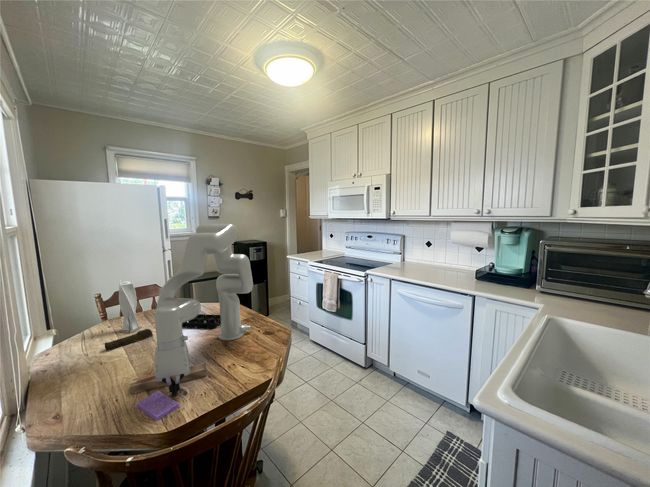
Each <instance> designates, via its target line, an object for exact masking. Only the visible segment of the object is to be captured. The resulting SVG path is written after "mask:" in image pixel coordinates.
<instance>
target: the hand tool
mask: <svg viewBox="0 0 650 487" xmlns="http://www.w3.org/2000/svg"><path fill="white" fill-rule="evenodd" d="M152 336H154V334H153V331H152V329H149V328H145V329H140V330H139V331H136V333H134V334H131V335H128V336H125V337H122V338H117V339H114V340H111V341H109V342H104V349H105V351H106V352H109V351H110V350H111V351H112V350H113V349H115V348H119V347H122V346H125V345H128V344H131V343H133V342H137V341H140V342H141V341H143V340H146V339H149V338H150V337H151V338H152Z"/></svg>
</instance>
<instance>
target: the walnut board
mask: <svg viewBox="0 0 650 487" xmlns="http://www.w3.org/2000/svg"><path fill="white" fill-rule="evenodd" d="M189 367H190V369H191V373H190V374H188V375H186V376H184V377H183V378H182V379H181V380H180V381H179V383H182V382H185V381H191V380H195V379H198V378H203V377H206V376H207V363H206V362H204V363H200V364H195V365H191V366H189ZM147 376H148V375H146V376H141V377H137V378H133V379H132V381H135V380H137V379H140V378H143V377H147ZM172 379H173V380H174V381H175V379H176V376H172ZM166 386H168V385H167V384H166V383H165V382H163V381H158V382H156V381H155V378H151V379H148V380H145V381H142V382H139V383H135V384H132V382H131V384H130V386H129V392H130V395H133V394H136V393H141V392H144V391H149V390H154V389H157V388H161V387H166Z"/></svg>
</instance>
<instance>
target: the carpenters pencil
mask: <svg viewBox="0 0 650 487" xmlns="http://www.w3.org/2000/svg"><path fill="white" fill-rule="evenodd" d="M146 376H147V377H145V376H142V377H143V378H141V377H139V378H140V379H137V380H135V381H133V380H132V381H131V383H132V384H135V383H139V382H142V381H145V380H148V379H151V378H155V373H154V374H149V375H146Z"/></svg>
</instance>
